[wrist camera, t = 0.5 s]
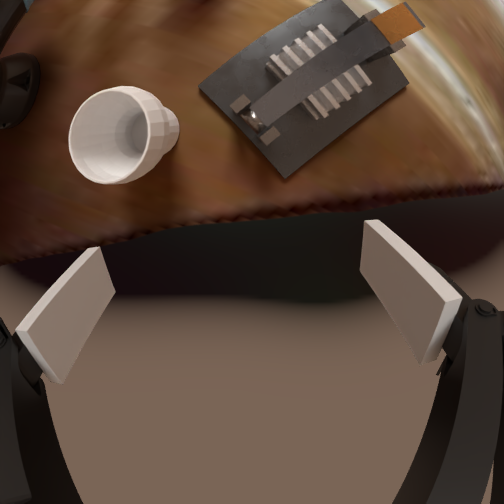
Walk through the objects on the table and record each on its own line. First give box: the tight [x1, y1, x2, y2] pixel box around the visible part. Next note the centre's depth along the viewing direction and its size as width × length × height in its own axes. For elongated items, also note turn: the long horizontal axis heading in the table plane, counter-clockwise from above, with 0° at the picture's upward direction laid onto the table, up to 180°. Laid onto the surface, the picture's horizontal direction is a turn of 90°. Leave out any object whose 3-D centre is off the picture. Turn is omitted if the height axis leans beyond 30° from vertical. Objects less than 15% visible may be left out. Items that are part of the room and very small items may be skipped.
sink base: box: [198, 0, 409, 179], centre depth 28 cm, size 26×18×9 cm
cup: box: [69, 86, 179, 184], centre depth 28 cm, size 11×11×15 cm
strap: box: [240, 2, 425, 135], centre depth 21 cm, size 23×3×2 cm, turn 131°
